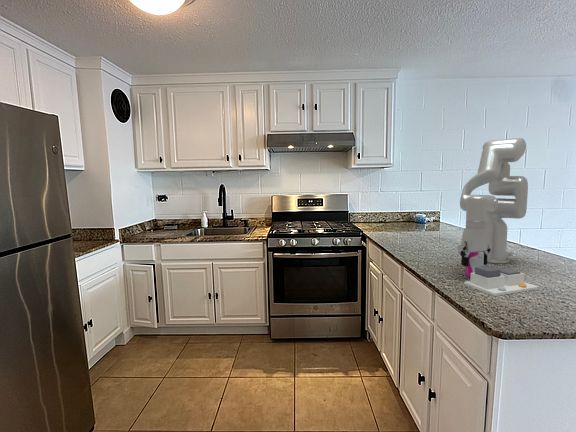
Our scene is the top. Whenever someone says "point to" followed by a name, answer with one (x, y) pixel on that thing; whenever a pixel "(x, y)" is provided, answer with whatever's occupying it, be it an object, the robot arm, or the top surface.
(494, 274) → the plain breaker
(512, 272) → the block
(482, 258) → the supplement box
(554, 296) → the top surface
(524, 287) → the breaker panel
